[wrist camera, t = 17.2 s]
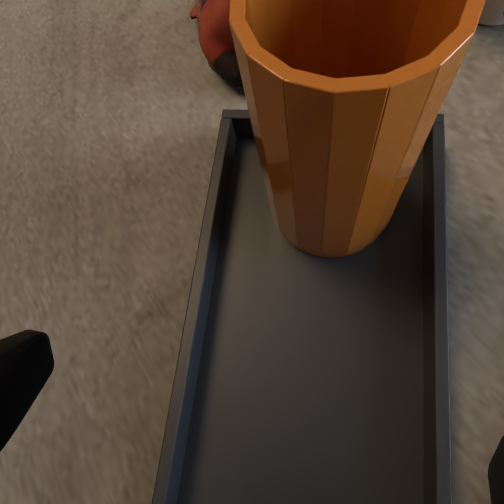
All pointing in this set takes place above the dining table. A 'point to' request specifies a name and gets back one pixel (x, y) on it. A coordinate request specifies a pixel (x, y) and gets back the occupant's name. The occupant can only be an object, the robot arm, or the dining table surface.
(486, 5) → the cup
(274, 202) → the tumbler
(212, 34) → the stuffed fox
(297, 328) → the tray
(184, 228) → the dining table surface
